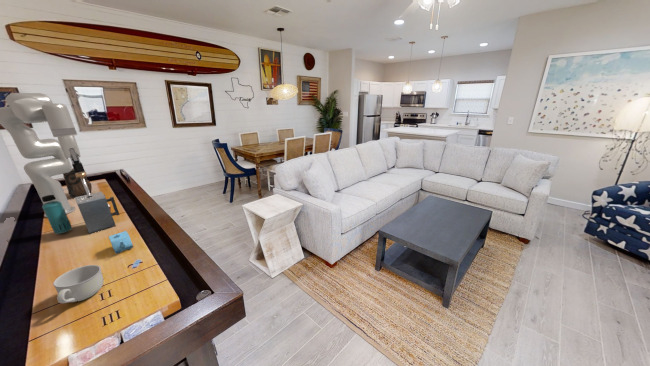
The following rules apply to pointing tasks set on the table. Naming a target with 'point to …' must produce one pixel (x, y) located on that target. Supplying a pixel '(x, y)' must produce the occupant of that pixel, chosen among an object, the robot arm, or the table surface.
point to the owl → (76, 184)
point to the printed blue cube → (121, 242)
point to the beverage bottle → (56, 215)
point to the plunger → (83, 181)
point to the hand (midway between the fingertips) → (79, 171)
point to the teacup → (78, 283)
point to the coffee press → (97, 211)
